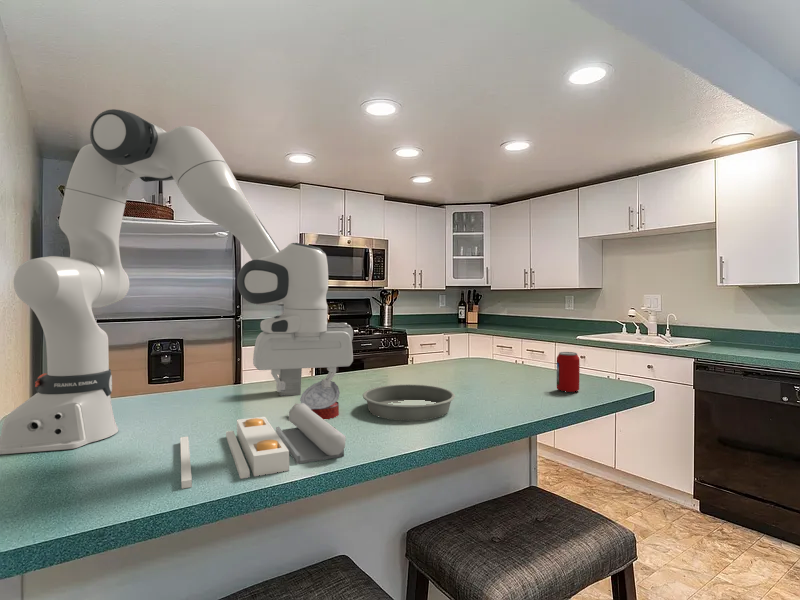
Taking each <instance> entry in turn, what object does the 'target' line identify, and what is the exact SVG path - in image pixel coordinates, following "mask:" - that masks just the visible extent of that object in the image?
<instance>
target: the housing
mask: <svg viewBox="0 0 800 600" xmlns="http://www.w3.org/2000/svg"><path fill="white" fill-rule="evenodd" d="M255 418H258V419H263V425H260V426H252V427H245V421H246V420H249V419H255ZM225 434H226V435H225V437H226V441H227V443H228V447H229V449H230V453H231V455H232V458H233V461H234V464H235V468H236V471H237V473H238V476H239V479H240V480H241V479H243V480H244V479H247V478H248V477H249V478H250V470H251V472H252V475H253V477H259V475H260V476H265V474H266V475H271V474H276V473H277V472H278V473H282V472H283V471H284V472H288V471H290V453H289V450H288V449H287V447H286V446H285V444H284V443H283V442H282V440H281V439H280V437H279V436H278V434H277V433H276V429H275V428H273V426H272V424H271V423H270V422H269V420H268V419H267V417H266V416H259V417H258V416H257V417H251V418H250V417H249V418H239V419H236V433H235V431H234V430H229V431H228V430H227V431H225ZM179 438H180V439H179V440H180V445H179V446H180V477H181V479H180V481H181V489H188V488H189V489H190V488H193V480H192V479H193V478H192V467H191V453H190V442H189V435H188V436H180V437H179ZM263 440H276V441H277V448H276V449H270V450H263V451H257V443H258V442H260V441H263ZM239 441H240V442H239ZM241 448H242V449H241ZM244 453H245V454H244ZM245 458H246V459H245ZM247 460H248V461H247ZM247 462H248V463H247ZM249 467H250V468H249ZM284 472H283V473H284ZM249 478H248V479H249Z"/></svg>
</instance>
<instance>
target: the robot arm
mask: <svg viewBox="0 0 800 600" xmlns="http://www.w3.org/2000/svg"><path fill="white" fill-rule="evenodd" d="M89 131H90V132H89V137H90V143H88V144H86V145H84V146H82V147H81V148H80V149H79V151H78V153H77V156H75V159H74V162H73V164H72V166H71V169H70V172H69V175H68V179H67V182H66V186H65V190H64V194H63V199H62V204H61V209H60V213H59V218H58V226H59V228H60V230H61V232H63V234H65V236H66V237H67V240H68V245H69V252H70V254H69V256H59V255H51V256H49V255H48V256H44V257H43V256H42V257H37V258H31V259H28V260H26V261H24V262H23V263H22V264H21V265H20V266H18V268H17V269H16V270H15V274H14V276H13V288H14V290H15V294H16V296H17V297H18V298H19V300H20V301H21V302H23V303H24V304H25V305H27V306H28V307H29V308H31V310H32V312H34V314H35V315H36V317H37V319H38V321H39V323H40V326H41V328H42V330H43V334H44V338H45V344H46V345H45V347H46V365H47V373H45V372H44V373H42V374H40V375H39V376H38V377H37V379H36V380H35V382H34V383H35V384H34V385H35V386H34V387H35V391H36V393H35V394H33V396H30V398H28V399H27V400H26V401H24V402H22V403H21V404H20V405H19V406H17V407H16V408H14V409H13V410H12V411H10V413H8V414H7V416H6V417H5V419H4V421H3V422H2V426H1V432H0V455H10V454H21V453H22V454H23V453H33V452H35V453H37V452H47V451H49V452H50V451H61V450H72V449H77V448H81V447H82V446H85V445H88V444H91V443H95V442H97V441H101V440H103V439H108V438H110V437H111V436H113V435H116V434H117V433H118V432H119V427H118V424H117V423H116V419H115V416H114V411H113V406H112V405H113V404H112V398H111V395H112V392H113V375H112V370H111V369H110V365H109V363H110V359H109V355H110V354H109V353H110V352H109V349H110V348H109V336H108V333H107V332H106V331H105V330H104V329H102V328H101V327H100V326H99V325H98V322H97V321H96V318H95V315H94V313H93V308H104V307H108V306H110V305H113V304H115V303H118V302H121V301H122V300H123V299H124V298H125V297H126V296H127V294H128V292H129V291H130V290H129V289H130V278H129V276H128V275H129V274H127V272H126V270H124V268H123V265H122V260H121V253H120V234H121V233H120V232H121V230H122V229H121V228H122V223H123V218H124V213H125V208H126V203H127V198H128V193H129V189H130V186H131V184H132V183H133V182H134V181H135V180H137V179H138V178H139V179H141V181H142V182H147V183H148V182H163V181H165V182H167V181H172V180H174V182H175V184H176V185H177V187H178V188H179V191H180V193H181V194H182V195H183V197H184V199H185V200H186V201H187V203H188V204H189V205H190V207H192V209H193V210H195V211H194V212H196V213H197V214H198V215H200V216H201V217H203V218H205V219H206V220H209V222H210V221H211V222H212V223H214V224H216V225H218V226H220V227H221V228H223V229H225V230H226V231H227V232H229V233H230V234H232V236H234V237H235V238H236V239H237V240H238V241H239V242H240V244H241V245H242V247H243V248H244V250H245V251H246V254H248V256H249V257H250V259H251V260H250V261H247V262H245V263H244V264H243V266H241V268H240V270H239V272H238V274H237V278H236V280H237V281H236V283H237V288H238V291H239V294H240V295H241V297H242V298H243V299H244V300H245V301H247V302H248V303H251V304H254V305H256V306H257V305H258V306H281V307H283V313H281V314H278V315H275V316H272V317H269V318H265V319H263V320H261V321H260V325H259V326H260V330H261V331H262V332H260V333H258V335H257V337H256V339H255V342H254V343H255V344H254V349H253V358H252V364H253V367H254V368H256V369H257V370H258V371H270V374H271V375H272V378H273V379H274V381H275V382H276V388H275V389H276V392H278V393H279V392H281V391H285V382H284V381H280V379H279V375H280V369H299V368H302V369H317V368H318V369H319V368H326V370H327V371H328V373H327V375H326V376H325V378H322V379H321V381H322V388H323V389H326V388H330V387H331V381H332V380H333V378H334V376H335V374H336V373H337V368H340V367H350V366H351V365H352V363H353V362H354V353H353V343H352V342H353V339H354V330H353V327H352V326H351V325H350V324H348V323H347V322H328V310H329V309H328V308H329V307H328V302H327V293H328V290H329V266H328V257H327V254H326V252H325V251H323V249H321V248H320V247H316V246H313V245H310V244H305V243H300V242H292V243H289V244H288V245H286V247H284V248H283V249H281V250H280V248H279V247H278V246H277V244H276V243H275V241H274V240H273V237H271V235H270V234H269V232H268V230H267V229H266V227H265V226H264V225H263V223H262V222H261V220H260V218H259V217H258V216H257V214H256V213H255V211H254V209H253V208H252V206H251V204H250V202H249V201H248V199H247V198H246V195H245V194H244V192H243V190H242V188H241V187H240V184H239V183H238V180H237V179H236V176H234V174H233V171H232V170H231V168H230V166H229V165H228V163H227V162H226V160H225V159H224V157H223V155H222V154H221V152H220V151H219V149H218V148H217V147H216V146H215V144H214V143H213V142H212V141H211V140H210V138H209V137H208V136H207V135H206V134H205V133H204V132H203V131H202V130H200V129H199V128H197V127H195V126H191V125H181V126H178V127H175V128H173V129H171V130H169V131H166V130H164V129H163V128H162V127H160V126H158V124H155V123H154V122H153V123H152V122H149V121H148V120H146V119H143V118H142V117H140V116H139V115H137V114H135V113H132V112H130V111H126V110H122V109H106V110H104V111H102V112H100V113H99V114H98V115H97V116H95V118H94V120H93V121H92V123H91V126H90V129H89Z"/></svg>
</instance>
